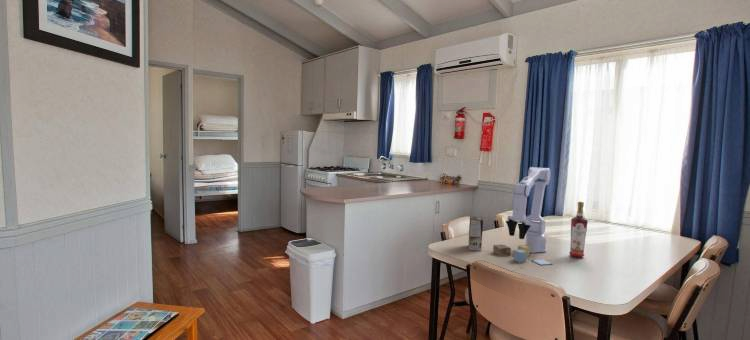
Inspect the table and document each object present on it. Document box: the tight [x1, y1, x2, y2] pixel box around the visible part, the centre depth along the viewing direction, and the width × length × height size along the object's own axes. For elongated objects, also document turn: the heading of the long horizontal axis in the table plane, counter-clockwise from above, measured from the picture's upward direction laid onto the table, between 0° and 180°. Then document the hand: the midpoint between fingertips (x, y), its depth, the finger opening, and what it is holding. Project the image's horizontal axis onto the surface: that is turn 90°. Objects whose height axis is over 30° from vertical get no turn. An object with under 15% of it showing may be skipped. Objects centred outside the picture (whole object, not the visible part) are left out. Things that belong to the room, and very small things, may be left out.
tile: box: [530, 258, 554, 266], centre depth 177 cm, size 7×7×1 cm
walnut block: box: [492, 244, 512, 257], centre depth 189 cm, size 6×6×4 cm
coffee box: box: [468, 216, 484, 252], centre depth 197 cm, size 9×6×16 cm
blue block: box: [513, 249, 528, 264], centre depth 178 cm, size 4×4×5 cm
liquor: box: [568, 201, 589, 259], centre depth 187 cm, size 7×7×28 cm
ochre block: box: [517, 244, 530, 258], centre depth 187 cm, size 4×4×5 cm
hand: (516, 237), depth 178 cm, fingers open, 7 cm apart
